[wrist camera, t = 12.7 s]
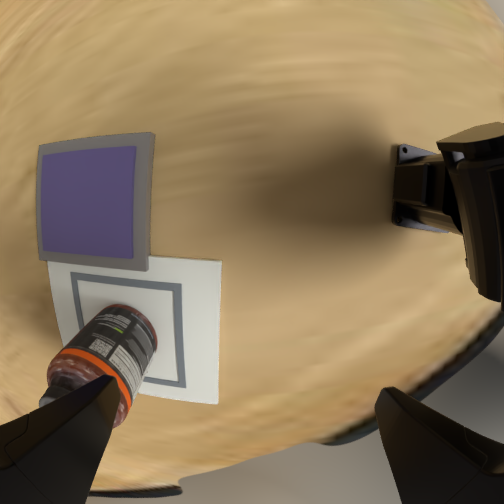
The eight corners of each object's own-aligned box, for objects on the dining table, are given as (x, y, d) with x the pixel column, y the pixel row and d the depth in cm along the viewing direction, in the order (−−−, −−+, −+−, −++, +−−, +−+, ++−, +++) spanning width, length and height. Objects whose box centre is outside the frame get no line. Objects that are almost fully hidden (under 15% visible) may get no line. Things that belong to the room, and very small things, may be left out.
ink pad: (155, 134, 18) (148, 131, 16) (150, 268, 20) (144, 273, 19) (45, 146, 17) (36, 145, 16) (45, 257, 20) (36, 261, 18)
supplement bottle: (109, 360, 22) (54, 444, 11) (90, 302, 20) (9, 374, 9) (167, 362, 22) (127, 465, 11) (150, 299, 20) (81, 392, 9)
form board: (222, 260, 20) (221, 262, 20) (218, 401, 23) (217, 405, 23) (48, 246, 19) (45, 248, 19) (74, 373, 23) (71, 376, 22)
